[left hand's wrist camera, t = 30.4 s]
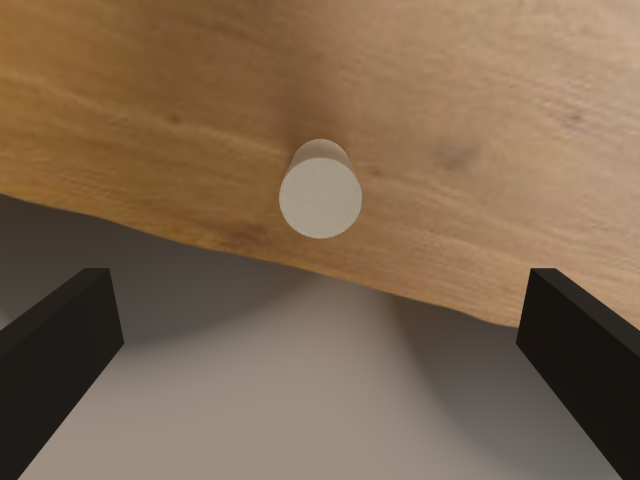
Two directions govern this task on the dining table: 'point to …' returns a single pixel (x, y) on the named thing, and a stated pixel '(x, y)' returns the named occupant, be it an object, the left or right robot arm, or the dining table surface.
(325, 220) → the canister
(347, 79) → the dining table surface
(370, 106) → the dining table surface
